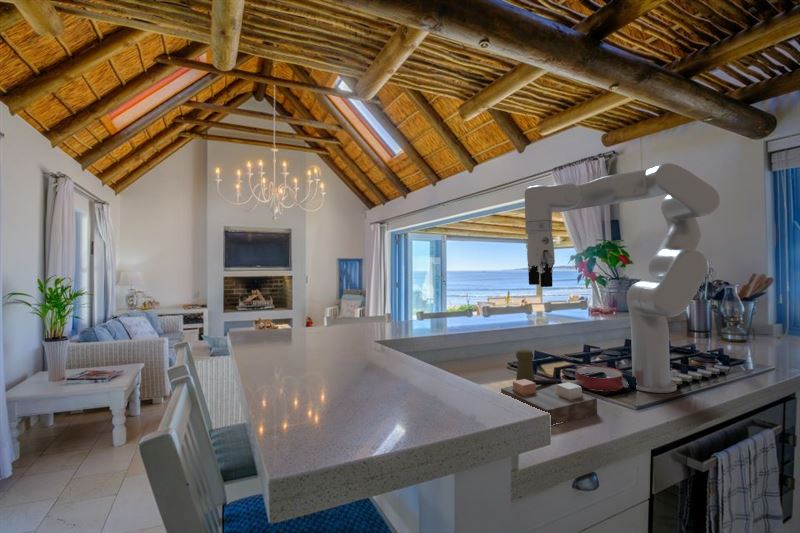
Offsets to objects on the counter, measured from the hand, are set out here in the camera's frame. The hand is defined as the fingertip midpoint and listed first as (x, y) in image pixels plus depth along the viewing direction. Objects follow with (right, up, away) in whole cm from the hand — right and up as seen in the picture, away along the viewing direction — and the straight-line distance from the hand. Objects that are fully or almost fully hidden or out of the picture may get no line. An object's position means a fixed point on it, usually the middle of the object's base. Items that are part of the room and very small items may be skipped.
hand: (540, 285), depth 117 cm
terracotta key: (-8, -29, -10) cm, 31 cm away
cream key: (+3, -28, -14) cm, 32 cm away
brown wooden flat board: (-2, -32, -12) cm, 34 cm away
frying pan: (+11, -32, -1) cm, 34 cm away
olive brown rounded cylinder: (-2, -32, +8) cm, 33 cm away
